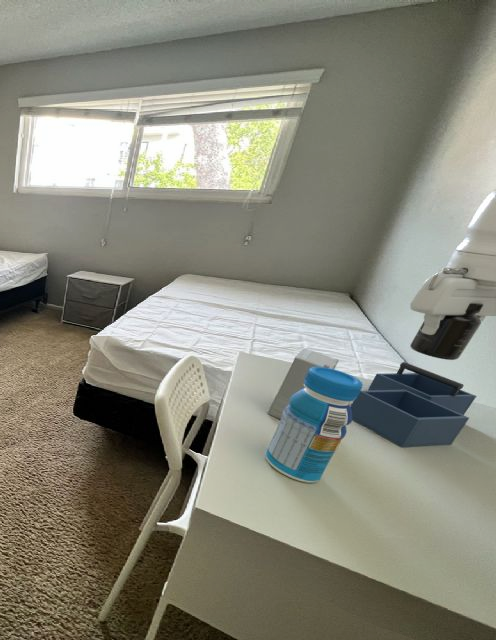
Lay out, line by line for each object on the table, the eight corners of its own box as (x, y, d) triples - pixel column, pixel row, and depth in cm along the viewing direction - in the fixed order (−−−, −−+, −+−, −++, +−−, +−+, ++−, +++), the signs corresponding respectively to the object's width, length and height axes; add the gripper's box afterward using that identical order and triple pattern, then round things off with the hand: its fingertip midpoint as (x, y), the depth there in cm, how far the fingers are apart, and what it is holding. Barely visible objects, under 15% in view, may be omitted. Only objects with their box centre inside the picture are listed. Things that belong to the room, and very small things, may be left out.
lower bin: (390, 414, 86) (405, 389, 83) (451, 444, 76) (469, 417, 73) (345, 415, 84) (358, 390, 81) (401, 447, 74) (418, 419, 71)
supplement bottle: (401, 347, 76) (429, 295, 72) (419, 345, 78) (448, 294, 74) (447, 362, 70) (481, 306, 66) (465, 359, 72) (500, 305, 68)
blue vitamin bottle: (258, 463, 66) (299, 371, 59) (269, 445, 71) (308, 359, 64) (316, 493, 60) (369, 394, 53) (324, 470, 65) (373, 378, 58)
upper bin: (404, 395, 95) (424, 361, 91) (460, 420, 85) (485, 383, 81) (364, 396, 93) (382, 362, 89) (416, 422, 83) (439, 384, 79)
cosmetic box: (275, 403, 87) (300, 346, 81) (312, 417, 82) (341, 358, 76) (265, 414, 82) (290, 354, 76) (304, 430, 77) (334, 367, 71)
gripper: (463, 271, 63) (424, 340, 68) (547, 274, 66) (504, 340, 71) (418, 263, 69) (385, 327, 74) (498, 267, 72) (461, 328, 77)
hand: (444, 334), depth 73 cm, fingers closed on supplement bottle, 7 cm apart
